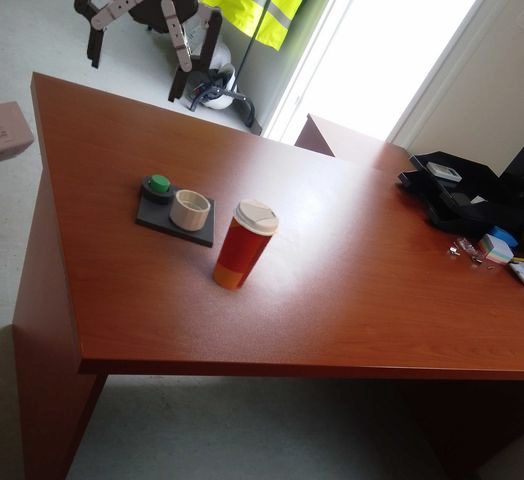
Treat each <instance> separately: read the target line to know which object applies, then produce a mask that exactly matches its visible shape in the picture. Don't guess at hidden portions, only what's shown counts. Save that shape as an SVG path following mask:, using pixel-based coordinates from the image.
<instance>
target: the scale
mask: <svg viewBox="0 0 524 480" xmlns="http://www.w3.org/2000/svg"><path fill="white" fill-rule="evenodd" d="M151 179H152V176H148V175H146V176H145V177H143V178H142V180H141V185H140V188H139V193H140V194H141V197H140V200H139V206H138V209H137V214H136V218H135V222H134V224H135V225H139V226H142V227H145V228H148V229H151V230H155V231H157V232H159V233H163V234H166V235H170V236H172V237H175V238H179V239H182V240H185V241H188V242H191V243H194V244H196V245H197V244H198V245H201V246H204V247H207V248H209V249H212V248H213V246H214V244H215V217H216V216H215V214H216V210H215V209H216V200H215V199H212V198H210V197H207V196H203V195H202V196H203V197H205V198H206V199H207V200H208V202H209V204H210V210H209V213H208V215H207V218H206V220H205V223H204V225H203V227H202V228H201V229H199V230H196V231H188V230H185V229H182V228H180V227H179V226H177V225H176V224H175V223H174V222H173V221H172V219H171V217H170V211H171V207H172V204H173V201H174V198H175V195H176V193H177V192H178V191H179V190H186V189H184V188H182V187H179V186H176V185H173V184H172V183H170V182H169V186H168V189H167V192H166V193H162V192H158V191H155V190H154V189H152V188H151V187H150V183H151Z"/></svg>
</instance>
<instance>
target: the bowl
mask: <svg viewBox="0 0 524 480" xmlns="http://www.w3.org/2000/svg"><path fill="white" fill-rule="evenodd" d="M205 197H206V196H204V197H203V195H202V194H201V193H199V192H196V191H193V190H189V189H185V190H179V191H178V192H177V193H176V195H175V198H174V201H173V204H172V207H171V211H170V217H171V219H172V221H173V222H174V223H175V224H176V225H177V226H179V227H180V228H182V229H185V230H188V231H196V230H199V229H201V228H202V227H203V225H204V223H205V220H206V218H207V215H208V213H209V210H210V204H209V202H208V200H207V199H206V198H205Z"/></svg>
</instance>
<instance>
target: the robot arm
mask: <svg viewBox="0 0 524 480" xmlns="http://www.w3.org/2000/svg"><path fill="white" fill-rule="evenodd" d="M73 8H74V9H73V10H74V11H75V13H77V14H78V15H81V16H83V17H84V18H85V19H86V20H87V21H88V23H89V28H90V30H89V35H88V42H87V48H86V57H87V59H88V60H90V61H91V65H90V66H91V67H92V68H94V69H96V70H98V69H99V68H100V66H101V63H102V59H103V53H104V47H105V41H106V36H107V31H108V28H107V26H109V25H110V24H111V23H112V22H114V21H116V20H117V19H119V18H120V17H122V16H123V15H125V14H126V13H128V15H129V16H130V17H131V18H132V21H134V22H135V23H138V24H140V25H146V26H148V27H150V29H152V30H153V31H154V32H156V33H158V34H160V35H162V36H163V34H169V35H170V37H171V38H170V39H171V41H172V44H173V47H174V50H175V52H176V55H177V59H178V61H179V62H177V65H176V68H175V71H174V74H173V78H172V82H171V85H170V88H169V92H168V96H167V101H168V102H170V103H172V104H174V103H175V101H176V100H177V101H179V100H180V99H181V98H182V97H183V95H184V92H185V88H186V85H187V81H188V79H189V76H190V74H191V73H193V72H200V74H203V75H205V74H208V73H209V72H210V67H211V64H212V60H213V57H214V53H215V49H216V46H217V42H218V39H219V35H220V32H221V28H222V25H223V20H224V18H223V10H222V8H221V7H220V6H218V5H215V6H212V5H209V4H207V3H205V2H202V1H200V0H110V1H108V2H107V3H106V4H104V5H103V6H101V7H100V8H98V6H96V5H95V4H94V3H93V2H92V0H74V1H73ZM196 14H198V16H199V17H200V27H201V28H202V30H203V31H204V32H205V33H204V37H203V40H202V44H201V49H200V52H199V54H192V52H191V49H190V48H191V47H190V44H189V41H188V37H187V33H186V29H185V25H184V24H185V23H186V22H188V21H189V20H190V19H193V17H195V16H196Z"/></svg>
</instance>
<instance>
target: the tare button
mask: <svg viewBox="0 0 524 480" xmlns="http://www.w3.org/2000/svg"><path fill="white" fill-rule="evenodd" d="M151 177H152V179H151V183H150V187H151V188H152V189H154V190H155V191H158V192H162V193H166V192H167V189H168V186H169V183H170V180H169V179H168V178H166V177H165V176H163V175H161V174H153V175H152V176H151Z"/></svg>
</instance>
